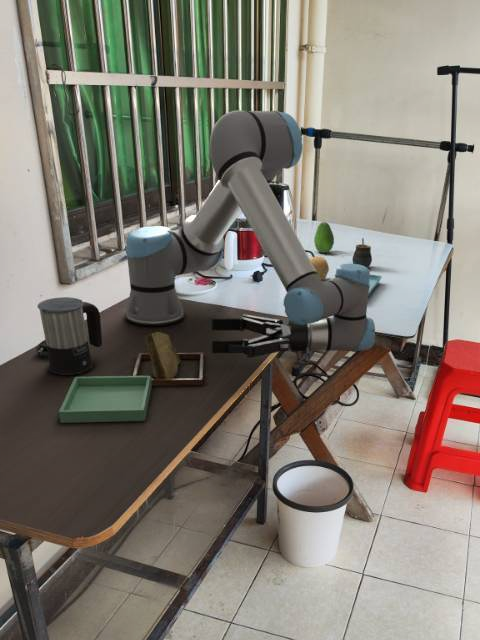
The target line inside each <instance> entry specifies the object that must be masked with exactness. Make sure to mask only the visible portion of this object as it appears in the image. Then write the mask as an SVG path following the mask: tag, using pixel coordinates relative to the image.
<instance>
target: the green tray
mask: <svg viewBox="0 0 480 640" xmlns="http://www.w3.org/2000/svg"><path fill="white" fill-rule="evenodd" d="M151 379H152V376H151V375H138V376H133V375H114V376H113V375H112V376H109V375H107V376H105V375H103V376H74V378H73V381H72V382H71V385H70V386H69V389H68V391H67V393H66V395H65V398H64V399H63V402H62V404H61V406H60V408H59V410H58V417H59V422H60V423H61V424H68V423H69V424H72V423H73V424H74V423H109V422H110V423H112V422H145V421H146V417H147V413H148V407H149V402H150V398H151V392H152V387H153V386H152V382H151Z"/></svg>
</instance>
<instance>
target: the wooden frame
mask: <svg viewBox="0 0 480 640" xmlns="http://www.w3.org/2000/svg"><path fill="white" fill-rule="evenodd" d="M176 353H177V355H178V357H179V359H180V360H199V375H198V378H195V377H194V378H193V377H192V378H172V379H157V378H151V382H152V387H159V386H160V387H177V386H203V385H204V360H205V359H204V358H205V357H204V352H176ZM143 360H151V357H150V354H149V352H138V355H137V357H136V361H135V364H134V369H133V373H132V376H139V374H140V373H139V372H140V369H141V365H142V361H143Z"/></svg>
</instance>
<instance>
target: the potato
mask: <svg viewBox="0 0 480 640" xmlns="http://www.w3.org/2000/svg"><path fill="white" fill-rule="evenodd" d="M309 259H310V261H311V263H312V264H313V266H314V268H315V270H316V272H317V273H318V275H319V277H320V279H321V280H322V281H323V280H324V279H326V278H327V275H328V273H329V272H330V268H329V263H328V261H327V260H326V259H325V257H322V256H319V255H318V256H313V257H309Z"/></svg>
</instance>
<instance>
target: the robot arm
mask: <svg viewBox="0 0 480 640" xmlns="http://www.w3.org/2000/svg"><path fill="white" fill-rule="evenodd" d="M303 145H304V144H303V135H302V131H301V129H300V126H299V124H298V122H297V121H296V119H295V118H294V117H293V116H292V115H290V114H289V113H286V112H281V111H278V110H240V109H239V110H231V111H229V112H227V113H225V114H223V115H221V117H220V118H219V119H218V120H217V121H216V122H215V124H214V126H213V127H212V130H211V134H210V137H209V157H210V161H211V165H212V168H213V171H214V173H215V175H216V177H217V179H218V181H217V182H216V184H215V185H214V187H213V188H212V190H211V192H210V193H209V194H208V196H207V198H206V199H205V200H204V202H203V204H201V205H202V206H201V207H200V208H199V210H198V211H197V213H196V214H195V215H191V216H189V217H187V218H186V219H185V220H184V222H183V224H181V226H180V228H178V229H176V230H171V229H170V228H169V227H166V226H163V225H154V226H143V227H139V228H136V229H134V230H132V231H130V232H129V233H128V235H127V236H126V238H125V248H126V249H125V254H126V257H127V258H126V259H127V268H128V276H129V287H130V292H129V297H128V301H127V304H126V309H125V315H126V316H125V317H126V320H127V321H128V322H130V323H131V324H134V325H137V326H138V325H139V326H143V327H144V326H145V327H162V326H169V325H174V324H176V323H178V322H180V321H182V320H183V319H184V316H185V315H184V308H183V305H182V302H181V300H180V297H179V295H178V292H177V290H176V283H175V281H176V280H175V279H176V276H181V275H187V274H191V273H196V272H205V271H208V270H211V269H214V268H216V267H217V266H218V265H219V264H220V263H221V262H222V260H223V259H224V255H225V251H224V250H225V242H224V240H225V239H224V236H225V234H226V233H227V232H228V230H229V229H230V228H231V226H232V225H233V223H234V222H235V221H236V219H237V218H238V216H239V215H240V214H241V213H242V214H243V216H244V217H245V219H246V221H247V223H248V225H249V226H250V228H251V230H252V232H253V233H254V235H255V237H256V239H257V241H258V242H259V245H260V246H261V248H262V250H263V251H264V254H265V255H266V257H267V258H268V260H269V263H270V264H271V266H272V268H273V269H274V271H275V273H276V275H277V277H278V279H279V280H280V282H281V284H282V286H283V287H284V289H285V292H286V294H285V295H284V299H283V306H284V312H285V315H286V317H287V319H288V324H284V320H283V319H282V318H269V317H265V316H264V317H263V316H257V315H253V314H252V315H251V314H245V313H244V314H242V316H241V317H234V318H233V317H212V318H211V331H240V332H243V331H245V330H246V331H249V332H253V333H257V334H260V335H261V336H258V337H255V338H252V339H247V338H243V339H212V340H211V353H212V354H243V355H246V357H247V358H248V359H251V358H255V357H261V356H265V355H270V354H274V353H279V352H280V353H281V352H289V351H291V352H305V351H306V350H308V351H309V352H311V351H312V352H316V353H320V352H321V351H323V352H325V351H326V352H327V351H328V352H329V351H331V352H332V351H334V352H335V351H337V352H338V351H340V352H342V351H345V352H358V351H359V352H360V351H367V350H370V349H372V348H373V346H374V344H375V339H376V326H375V322H374V319H372V317H367V313H368V311H367V310H368V303H369V296H368V294H369V287H370V285H369V278H370V274H371V272H370V270H369V267H368V268H367V267H365V266H362V265H359V264H353V263H341V264H339V265H338V266H337V267H336V271H335V274H334V277H335V278H330V279H326V280H323V279H322V280H321V279H320V277H319V275H318V273H317V272H316V270H315V268H314V266H313V264H312V263H311V261H310V257H309V255H308V254H307V252H306V250H305V248H304V247H303V245H302V242H301V241H300V239H299V238H298V235H297V234H296V232H295V230H294V228H293V226H292V224H291V223H290V221H289V219H288V218H287V216H286V214H285V212H284V210H283V208H282V206H281V205H280V203H279V201H278V199H277V197H276V196H275V194H274V192H273V190H272V188H271V186H270V185H269V184H271V183H272V182H273V181H274V179H275V178H276V177H277V175H278V174H279V173H280V172H281V170H283V169H285V170H288V169H291V168H293V167H295V166H296V165H297V164H298V163H299V161H300V160H301V157H302V153H303ZM369 295H370V294H369Z"/></svg>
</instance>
